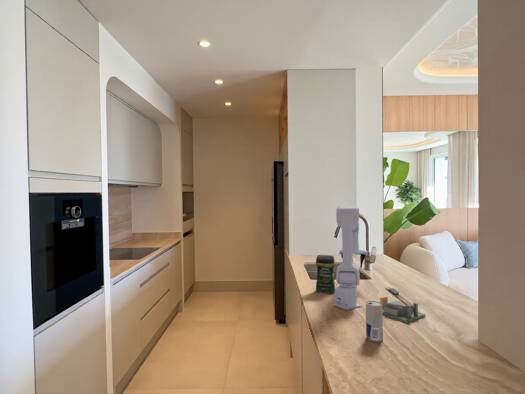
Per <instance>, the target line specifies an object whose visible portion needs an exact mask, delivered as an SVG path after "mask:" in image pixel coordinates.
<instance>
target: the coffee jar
mask: <svg viewBox="0 0 525 394" xmlns="http://www.w3.org/2000/svg"><path fill="white" fill-rule="evenodd" d="M335 262H336V261H335V256H334V255H327V254H326V255H325V254H318V255H317V256H316V260H315V265H316V282H315V291H317V292H318V293H324V294H332V293H335V289H336V285H335V283H336V282H335V274H334V273H335V272H334V271H335V270H334V268H335V264H336V263H335Z"/></svg>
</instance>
